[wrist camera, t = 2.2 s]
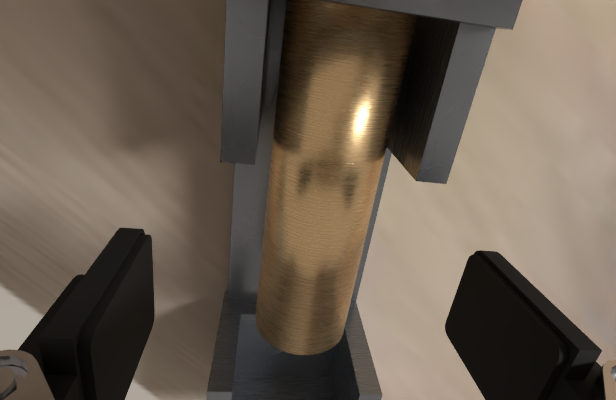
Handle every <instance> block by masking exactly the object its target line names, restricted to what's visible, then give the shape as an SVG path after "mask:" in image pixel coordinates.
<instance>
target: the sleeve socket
mask: <svg viewBox="0 0 616 400" xmlns="http://www.w3.org/2000/svg"><path fill="white" fill-rule="evenodd" d="M317 1H324V2H330V3H336V4H343V5H349V6H355V7H362V8H368V9H374V10H381V11H387V12H393V13H400V14H406V15H412V16H417V20H416V24H415V28H414V32H413V37H412V41H411V45H410V50H409V54H408V58H407V62H406V67H405V71H404V75H403V80H402V84H401V88H400V92H399V97H398V101H397V105H396V110H395V114H394V118H393V122H392V127H391V131H390V135H389V139H388V144H387V148H386V152H385V157H384V161H383V165H382V169H381V174H380V178H379V182H378V187H377V191H376V195H375V199H374V204H373V208H372V212H371V217H370V221H369V225H368V229H367V234H366V238H365V242H364V247H363V251H362V255H361V259H360V264H359V268H358V272H357V277H356V281H355V285H354V289H353V294H352V298H351V302H350V307H349V311H348V315H347V319H346V324H345V328H344V332H343V335H342V338H341V339H340V341H339V342H338V343H337V344H336V345H335V346H334V347H332V348H331V349H329V350H327V351H325V352H322V353H319V354H314V355H296V354H291V353H288V352H284V351H282V350H279V349H277V348H276V347H274V346H272V345H271V344H270V343H268V342H267V341H266V340H265V339H264V338H263V337H262V336H261V334H260V333H259V331H258V329H257V326H256V322H255V316H256V305H257V295H258V285H259V275H260V265H261V254H262V244H263V234H264V224H265V214H266V203H267V193H268V183H269V173H270V163H271V152H272V142H273V132H274V122H275V112H276V101H277V91H278V81H279V71H280V61H281V51H282V40H283V30H284V20H285V10H286V0H227V2H226V28H225V55H224V81H223V107H222V134H221V160H220V162H229V163H235V169H234V187H233V205H232V223H231V242H230V260H229V278H228V292H225V295H224V301H223V306H222V312H221V317H220V323H219V328H218V334H217V339H216V345H215V350H214V356H213V361H212V367H211V372H210V378H209V383H208V389H207V400H381V398H382V392H381V389H380V385H379V382H378V378H377V375H376V371H375V368H374V364H373V360H372V357H371V353H370V350H369V346H368V343H367V339H366V336H365V332H364V329H363V325H362V322H361V318H360V315H359V311H358V308H357V304H356V299H357V294H358V290H359V286H360V282H361V278H362V274H363V270H364V265H365V261H366V257H367V253H368V249H369V245H370V241H371V236H372V232H373V228H374V224H375V220H376V216H377V211H378V207H379V203H380V199H381V195H382V191H383V187H384V182H385V178H386V174H387V170H388V166H389V162H390V158H391V153H392V154H393V155H394V156H395V157H396V158H397V159H398V161H399V162H400V163H401V164H402V165H403V166H404V167H405V169H406V170H407V171H408V172H409V173H410V174H411V176H412V177H413V178H414V179H415V180H416V181H422V182H432V183H442V184H446V183H447V180H448V177H449V173H450V170H451V167H452V164H453V161H454V158H455V155H456V151H457V148H458V145H459V142H460V139H461V136H462V132H463V129H464V126H465V123H466V120H467V117H468V114H469V110H470V107H471V104H472V101H473V98H474V95H475V92H476V88H477V85H478V82H479V79H480V76H481V73H482V70H483V66H484V63H485V60H486V57H487V54H488V51H489V47H490V44H491V41H492V38H493V35H494V32H495V29H512V30H513V27H514V24H515V21H516V18H517V15H518V12H519V9H520V6H521V3H522V0H317Z"/></svg>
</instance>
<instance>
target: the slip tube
mask: <svg viewBox="0 0 616 400" xmlns="http://www.w3.org/2000/svg"><path fill="white" fill-rule="evenodd" d="M416 20H417V16H412V15H406V14H400V13H393V12H387V11H381V10H374V9H368V8H362V7H355V6H349V5H343V4H336V3H330V2H324V1H317V0H286V10H285V20H284V30H283V40H282V51H281V61H280V71H279V81H278V91H277V101H276V112H275V122H274V132H273V142H272V152H271V163H270V173H269V183H268V193H267V203H266V214H265V224H264V234H263V244H262V254H261V265H260V275H259V285H258V295H257V305H256V316H255V322H256V326H257V329H258V331H259V333H260V334H261V336H262V337H263V338H264V339H265V340H266V341H267V342H268V343H270V344H271V345H272V346H274V347H276V348H277V349H279V350H282V351H284V352H288V353H291V354H296V355H314V354H319V353H322V352H325V351H327V350H329V349H331V348H332V347H334V346H335V345H336V344H337V343H338V342H339V341H340V339H341V338H342V335H343V332H344V328H345V324H346V319H347V315H348V311H349V307H350V302H351V298H352V294H353V289H354V285H355V281H356V277H357V272H358V268H359V264H360V259H361V255H362V251H363V247H364V242H365V238H366V234H367V229H368V225H369V221H370V217H371V212H372V208H373V204H374V199H375V195H376V191H377V187H378V182H379V178H380V174H381V169H382V165H383V161H384V157H385V152H386V148H387V144H388V139H389V135H390V131H391V127H392V122H393V118H394V114H395V110H396V105H397V101H398V97H399V92H400V88H401V84H402V80H403V75H404V71H405V67H406V62H407V58H408V54H409V50H410V45H411V41H412V37H413V32H414V28H415V24H416Z"/></svg>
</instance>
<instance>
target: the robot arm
mask: <svg viewBox="0 0 616 400" xmlns="http://www.w3.org/2000/svg"><path fill="white" fill-rule="evenodd" d="M153 322H154V288H153V261H152V238H151V235H145V233H144V230H143V229H133V228H119V229H118V231H117V232H116V233H115V235H114V236H113V237H112V239H111V240H110V241H109V243H108V244H107V246H106V247H105V248H104V250H103V251H102V252H101V254H100V255H99V256H98V258H97V259H96V260H95V262H94V263H93V264H92V266H91V267H90V268H89V270H88V271H87V273H86V274H85V275H77V276H76V277H75V278H73V279H72V281H71V282H70V283H69V285H68V286H67V287H66V288H65V290H64V291H63V292H62V294H61V295H60V296H59V297H58V299H57V300H56V301H55V303H54V304H53V305H52V306H51V308H50V309H49V310H48V312H47V313H46V314H45V316H44V317H43V318H42V319H41V321H40V322H39V323H38V325H37V326H36V327H35V328H34V330H33V331H32V332H31V334H30V335H29V336H28V337H27V339H26V340H25V342H24V343H23V344H22V345H21V346H20V348H19V349H18V350H3V351H0V400H125V397H126V395H127V392H128V389H129V387H130V384H131V382H132V379H133V376H134V374H135V371H136V369H137V366H138V363H139V361H140V358H141V355H142V353H143V350H144V348H145V345H146V342H147V340H148V337H149V334H150V332H151V329H152V326H153ZM445 330H446V334H447V336H448V338H449V339H450V341H451V343H452V344H453V346H454V348H455V349H456V351H457V353H458V354H459V356H460V358H461V359H462V361H463V363H464V364H465V366H466V368H467V370H468V371H469V373H470V375H471V376H472V378H473V380H474V381H475V383H476V385H477V386H478V388H479V390H480V391H481V393H482V395H483V396H484V398H485V400H616V360H614V361H607V362H606V363H604V364H603V366H602V367H601V366H600V365H599V364H598V363H597V362H596V360H597V358H598V357H599V355H600V353H601V352H602V350H601V349H600V348H599V347H598V346H597V345H596V344H595V343H593V342H592V341H591V340H590V339H589V338H588V337H587V336H586V335H585V334H584V333H583V332H582V331H581V330H580V329H579V328H578V327H577V326H576V325H574V324H573V323H572V322H571V321H570V320H569V319H568V318H567V317H566V316H565V315H564V314H563V313H562V312H561V311H560V310H559V309H558V308H557V307H555V306H554V305H553V304H552V303H551V302H550V301H549V300H548V299H547V298H546V297H545V296H544V295H543V294H542V293H541V292H540V291H539V290H538V289H537V288H535V287H534V286H533V285H532V284H531V283H530V282H529V281H528V280H527V279H526V278H525V277H524V276H523V275H522V274H521V273H520V272H519V271H518V270H516V269H515V268H514V267H513V266H512V265H511V264H510V263H509V262H508V261H507V260H506V259H505V258H504V257H503V256H502V255H501V254H500V253H498V252H494V251H476V252H475V253H474V255H471V256H470V257H469V259H468V261H467V264H466V267H465V269H464V272H463V275H462V278H461V281H460V284H459V286H458V289H457V292H456V295H455V298H454V301H453V304H452V306H451V309H450V312H449V315H448V318H447V321H446V324H445Z"/></svg>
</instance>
